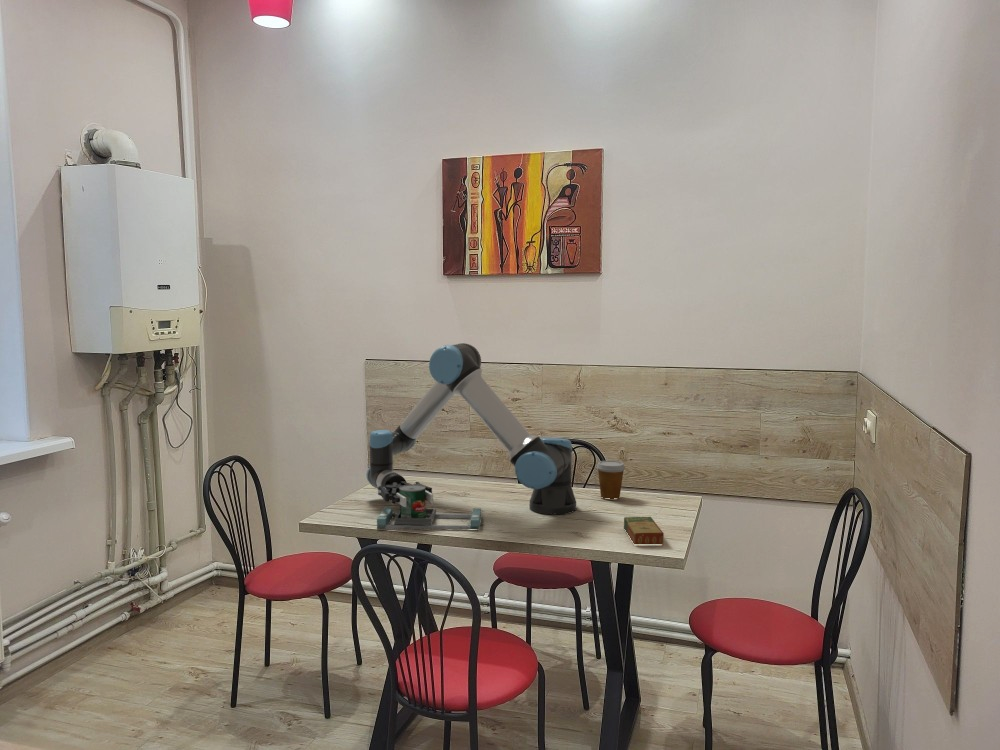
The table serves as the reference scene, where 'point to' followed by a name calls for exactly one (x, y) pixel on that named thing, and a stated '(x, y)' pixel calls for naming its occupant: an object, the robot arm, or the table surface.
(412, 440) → the robot arm
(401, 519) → the carriage
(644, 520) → the carton
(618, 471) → the disposable coffee cup
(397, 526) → the rail
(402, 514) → the canned tomato
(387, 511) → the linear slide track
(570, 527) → the table surface
